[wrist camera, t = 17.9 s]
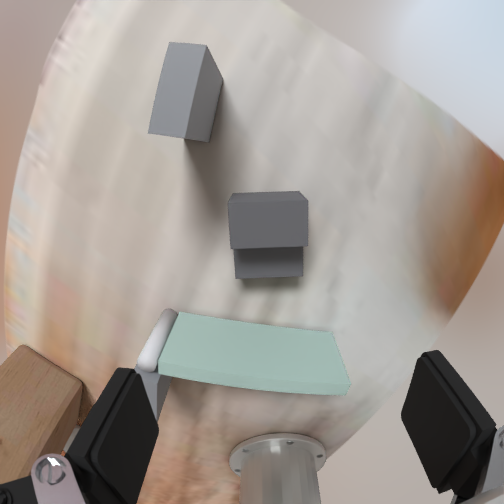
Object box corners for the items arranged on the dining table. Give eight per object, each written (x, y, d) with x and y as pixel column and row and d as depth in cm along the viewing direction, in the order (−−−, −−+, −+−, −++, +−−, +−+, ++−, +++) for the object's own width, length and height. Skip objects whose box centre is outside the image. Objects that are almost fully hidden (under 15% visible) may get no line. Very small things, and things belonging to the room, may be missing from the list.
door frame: (176, 365, 28) (156, 424, 21) (157, 360, 28) (133, 418, 21) (223, 78, 20) (206, 45, 13) (197, 75, 20) (169, 42, 13)
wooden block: (86, 380, 30) (12, 511, 11) (80, 420, 33) (26, 528, 14) (21, 338, 29) (-69, 442, 10) (23, 384, 32) (-42, 477, 13)
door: (162, 320, 26) (137, 369, 20) (162, 307, 26) (136, 355, 19) (328, 343, 27) (345, 396, 20) (332, 331, 26) (351, 382, 20)
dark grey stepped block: (233, 193, 23) (227, 202, 19) (298, 190, 23) (308, 200, 19) (237, 266, 25) (233, 290, 21) (298, 264, 25) (307, 288, 21)
